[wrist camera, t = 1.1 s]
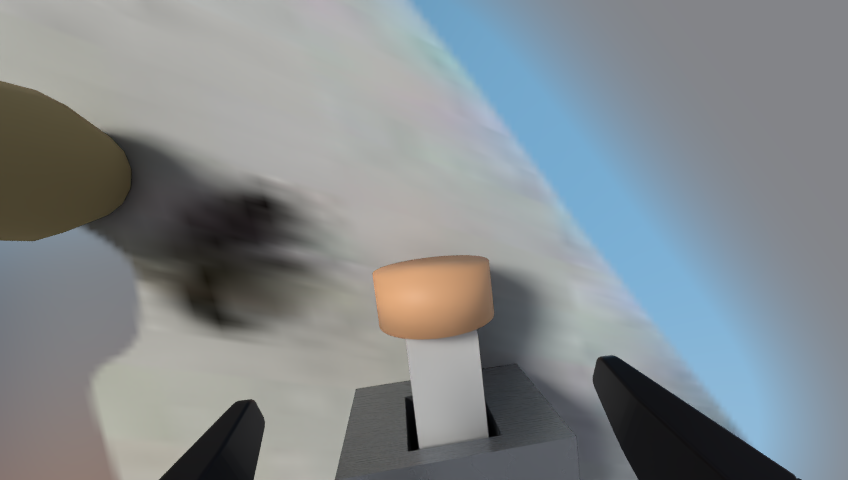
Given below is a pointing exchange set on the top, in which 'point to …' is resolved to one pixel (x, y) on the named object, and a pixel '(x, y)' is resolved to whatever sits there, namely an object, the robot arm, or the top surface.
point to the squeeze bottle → (54, 167)
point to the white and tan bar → (440, 340)
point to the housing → (466, 461)
